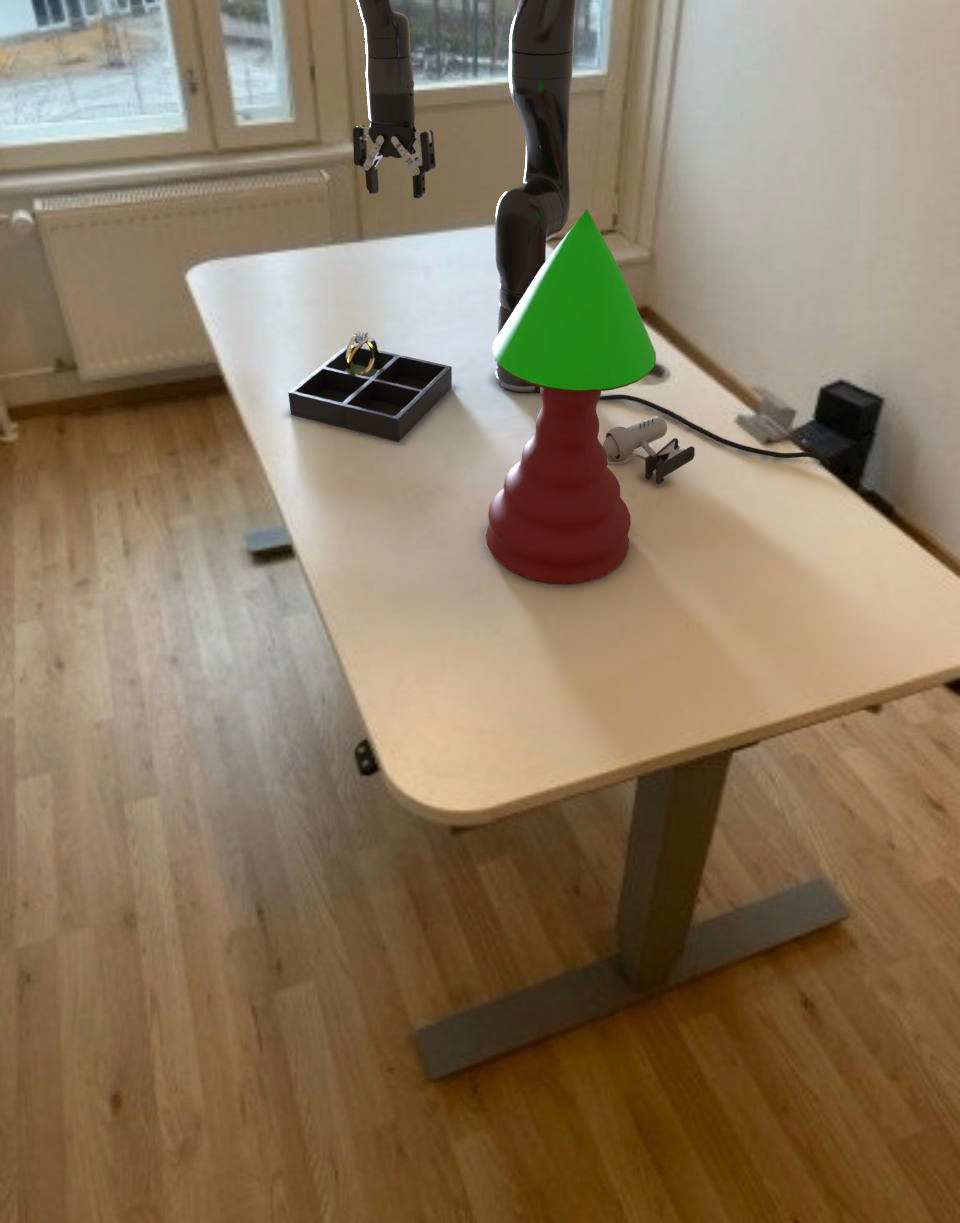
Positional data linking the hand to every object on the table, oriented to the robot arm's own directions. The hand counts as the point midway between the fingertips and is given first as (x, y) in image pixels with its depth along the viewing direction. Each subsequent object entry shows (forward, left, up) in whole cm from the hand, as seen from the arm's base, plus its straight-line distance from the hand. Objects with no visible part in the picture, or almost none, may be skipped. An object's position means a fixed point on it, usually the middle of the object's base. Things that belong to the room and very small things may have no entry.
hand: (396, 195), depth 165 cm
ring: (-2, +18, -25) cm, 31 cm away
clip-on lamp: (-52, +26, -26) cm, 64 cm away
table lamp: (-49, +48, -26) cm, 73 cm away
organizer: (-7, +24, -26) cm, 36 cm away
